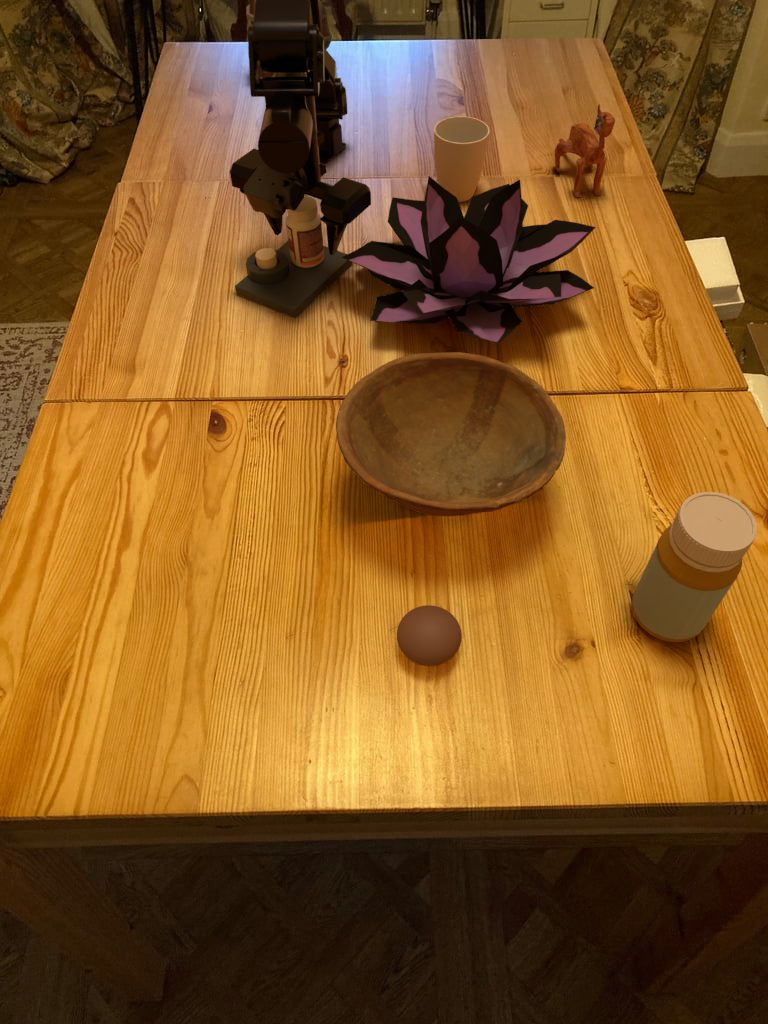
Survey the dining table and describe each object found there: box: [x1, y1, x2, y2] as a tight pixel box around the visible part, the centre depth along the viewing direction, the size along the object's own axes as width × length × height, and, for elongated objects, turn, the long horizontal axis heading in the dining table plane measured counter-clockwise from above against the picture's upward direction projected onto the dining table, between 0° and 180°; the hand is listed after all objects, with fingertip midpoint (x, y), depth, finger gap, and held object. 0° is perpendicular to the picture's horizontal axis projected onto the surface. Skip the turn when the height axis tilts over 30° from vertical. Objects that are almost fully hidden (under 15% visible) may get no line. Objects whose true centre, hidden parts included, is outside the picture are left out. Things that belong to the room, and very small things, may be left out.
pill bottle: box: [285, 195, 324, 268], centre depth 105 cm, size 5×5×8 cm
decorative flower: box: [341, 175, 596, 344], centre depth 99 cm, size 32×32×15 cm
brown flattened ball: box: [396, 604, 463, 667], centre depth 71 cm, size 6×6×4 cm
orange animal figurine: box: [554, 103, 616, 198], centre depth 118 cm, size 18×7×14 cm, turn 9°
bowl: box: [335, 351, 567, 517], centre depth 80 cm, size 22×23×10 cm
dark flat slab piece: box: [234, 240, 353, 319], centre depth 106 cm, size 11×14×3 cm
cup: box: [433, 115, 490, 203], centre depth 116 cm, size 8×8×10 cm
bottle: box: [630, 491, 758, 643], centre depth 68 cm, size 7×7×15 cm
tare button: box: [255, 247, 277, 269], centre depth 105 cm, size 3×3×2 cm
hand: (305, 243), depth 106 cm, fingers open, 9 cm apart
